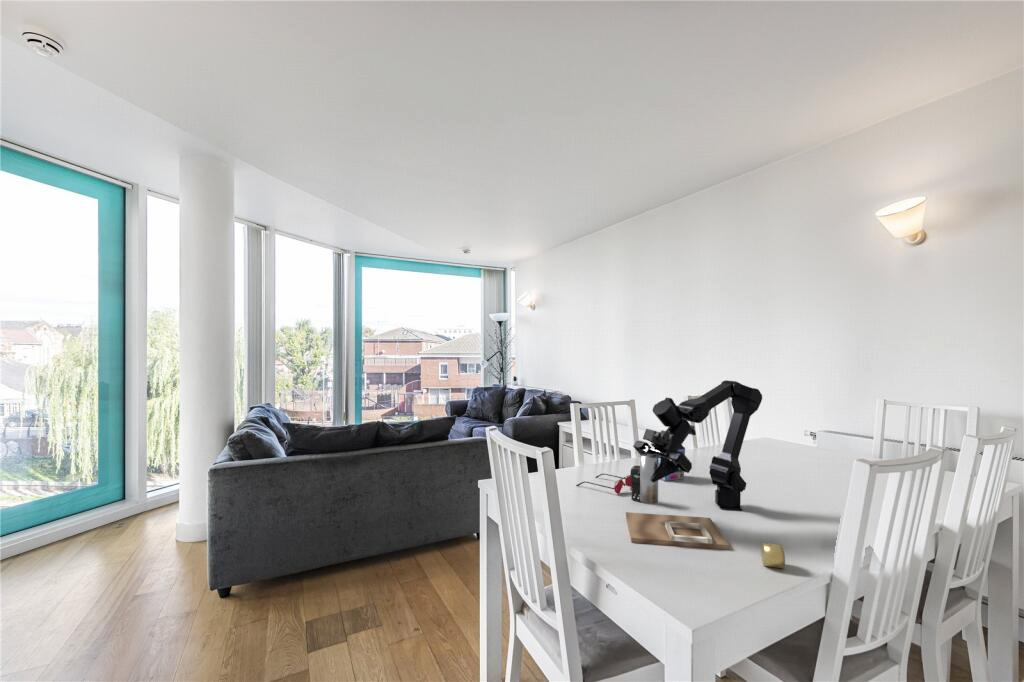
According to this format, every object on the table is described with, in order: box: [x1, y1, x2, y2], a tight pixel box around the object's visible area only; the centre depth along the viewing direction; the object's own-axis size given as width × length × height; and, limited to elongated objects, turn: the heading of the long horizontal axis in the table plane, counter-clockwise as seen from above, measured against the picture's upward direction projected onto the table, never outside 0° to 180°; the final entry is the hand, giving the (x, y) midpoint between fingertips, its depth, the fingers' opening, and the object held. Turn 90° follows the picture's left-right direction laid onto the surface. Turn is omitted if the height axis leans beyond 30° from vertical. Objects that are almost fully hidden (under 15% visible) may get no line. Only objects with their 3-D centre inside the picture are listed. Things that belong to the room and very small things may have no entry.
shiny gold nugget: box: [760, 542, 786, 569], centre depth 108 cm, size 5×5×4 cm
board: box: [625, 512, 730, 551], centre depth 127 cm, size 24×18×2 cm
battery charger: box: [629, 464, 642, 503], centre depth 151 cm, size 7×4×11 cm, turn 56°
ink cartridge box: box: [658, 446, 686, 482], centre depth 176 cm, size 10×6×14 cm, turn 115°
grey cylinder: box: [639, 454, 659, 505], centre depth 132 cm, size 5×5×13 cm
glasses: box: [575, 473, 632, 495], centre depth 166 cm, size 14×16×5 cm
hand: (645, 478), depth 131 cm, fingers closed on grey cylinder, 5 cm apart
